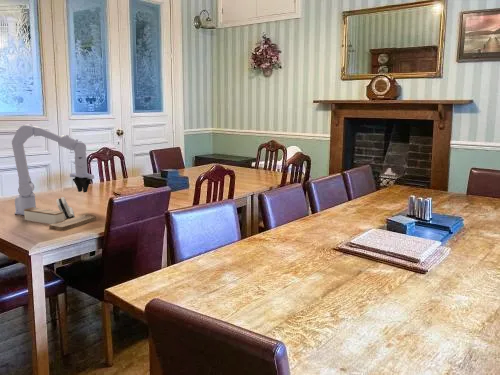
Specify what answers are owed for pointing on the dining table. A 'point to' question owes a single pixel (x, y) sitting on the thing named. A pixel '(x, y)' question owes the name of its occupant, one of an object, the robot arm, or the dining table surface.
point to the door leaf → (72, 222)
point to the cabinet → (43, 215)
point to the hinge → (65, 208)
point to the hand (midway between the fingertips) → (82, 191)
